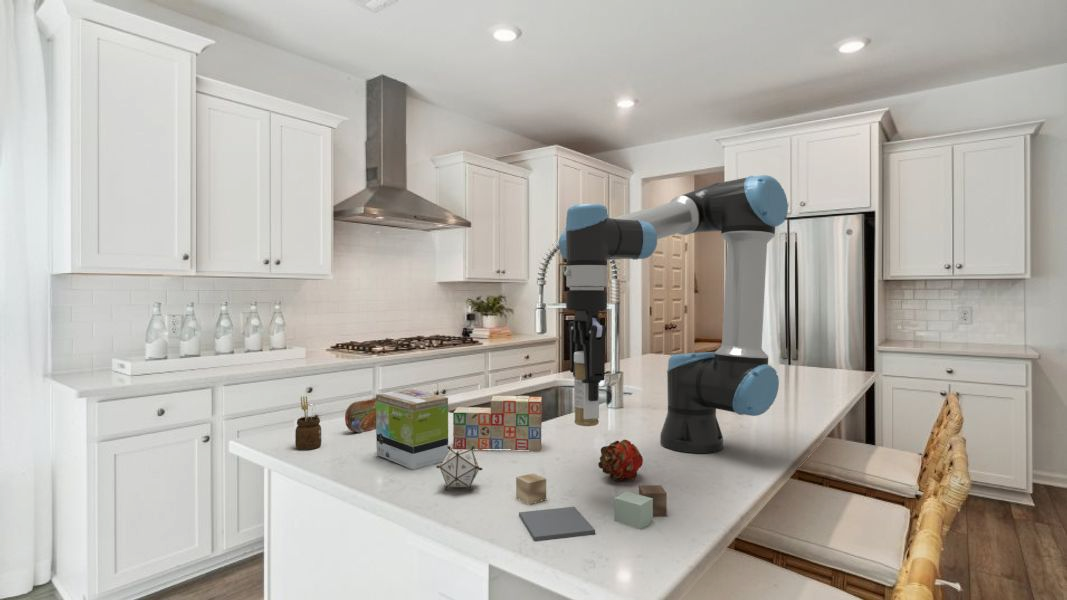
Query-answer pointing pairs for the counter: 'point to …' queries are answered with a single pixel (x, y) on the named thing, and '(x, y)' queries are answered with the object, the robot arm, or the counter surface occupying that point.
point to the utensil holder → (307, 430)
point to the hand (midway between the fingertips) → (586, 414)
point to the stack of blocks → (500, 424)
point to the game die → (459, 468)
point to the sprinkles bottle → (581, 391)
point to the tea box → (412, 428)
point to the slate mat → (556, 523)
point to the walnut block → (655, 498)
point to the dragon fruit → (620, 460)
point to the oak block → (530, 488)
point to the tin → (361, 416)
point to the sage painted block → (633, 510)
